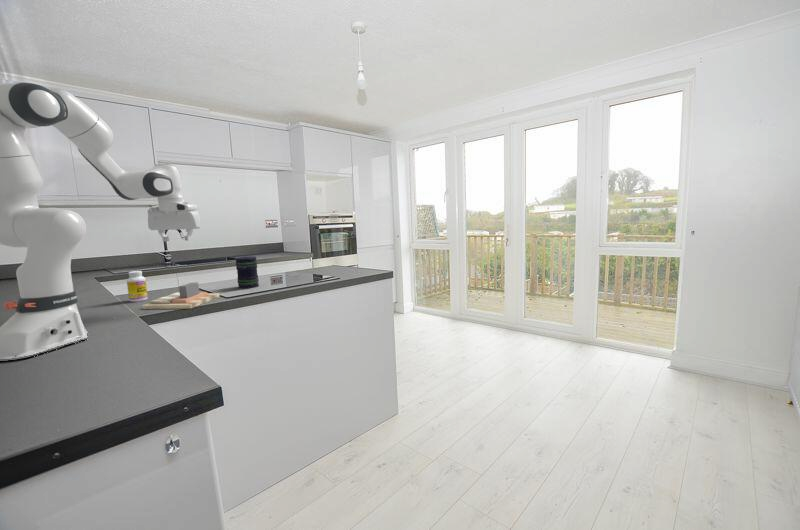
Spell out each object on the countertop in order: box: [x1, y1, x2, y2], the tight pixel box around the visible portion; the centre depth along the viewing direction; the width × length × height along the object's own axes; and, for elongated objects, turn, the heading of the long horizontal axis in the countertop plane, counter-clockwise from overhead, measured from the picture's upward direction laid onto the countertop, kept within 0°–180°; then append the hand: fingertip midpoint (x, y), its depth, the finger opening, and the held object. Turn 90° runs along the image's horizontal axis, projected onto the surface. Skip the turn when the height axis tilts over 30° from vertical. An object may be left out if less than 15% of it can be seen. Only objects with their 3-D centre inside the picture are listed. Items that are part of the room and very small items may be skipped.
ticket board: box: [141, 291, 220, 310], centre depth 148 cm, size 20×20×3 cm
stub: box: [172, 281, 208, 303], centre depth 147 cm, size 14×6×6 cm, turn 177°
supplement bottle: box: [126, 270, 148, 303], centre depth 154 cm, size 7×7×13 cm
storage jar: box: [235, 256, 260, 290], centre depth 177 cm, size 10×10×15 cm
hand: (177, 240), depth 143 cm, fingers open, 8 cm apart
